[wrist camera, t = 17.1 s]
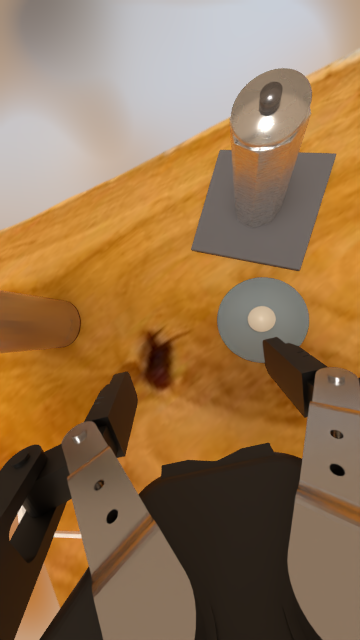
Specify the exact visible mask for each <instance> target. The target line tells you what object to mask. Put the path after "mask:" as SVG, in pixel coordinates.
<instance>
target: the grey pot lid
mask: <svg viewBox="0 0 360 640" xmlns="http://www.w3.org/2000/svg"><path fill="white" fill-rule="evenodd" d="M217 323H218V329H219V333H220V335H221V338H222V340H223V341H224V343H225V344H226V345H227V347H228V348H229V349H230V350H231V351H232V352H234V353H235V354H236V355H238V356H240V357H242V358H244V359H246V360H249V361H253V362H259V363H265V360H264V352H263V340H265V339H269V338H274V337H278V338H279V339H281V340H282V341H283V342H284V343H291V344H294V345H297V346H300V345H301V344H302V342H303V340H304V339H305V336H306V334H307V331H308V327H309V314H308V309H307V307H306V304H305V302H304V300H303V298H302V297H301V296H300V294H299V293H298V292H297V291H296V290H295V289H294V288H292V287H291V286H290V285H288V284H286V283H285V282H282V281H280V280H277V279H273V278H262V277H261V278H253V279H249V280H246V281H244V282H242V283H240V284H238V285H236V286H235V287H234V288H232V289H231V290H230V291H229V292H228V293H227V294H226V296H225V297H224V299H223V300H222V302H221V304H220V307H219V311H218V317H217Z"/></svg>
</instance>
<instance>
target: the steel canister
mask: <svg viewBox="0 0 360 640" xmlns="http://www.w3.org/2000/svg"><path fill="white" fill-rule="evenodd" d="M311 99H312V90H311V86H310V83H309V81H308V79H307V78H306V77H305V76H304V75H303V74H302V73H300V72H298V71H296V70H292V69H284V68H283V69H274V70H271V71H268V72H265V73H263V74H261V75H259V76H257V77H256V78H254V79H253V80H252V81H250V82H249V83H248V84H247V85H246V86H245V87H244V88H243V89H242V90H241V92H240V93H239V95H238V96H237V98H236V100H235V102H234V104H233V108H232V112H231V117H230V132H231V148H232V165H233V182H234V198H235V208H236V214H237V220H238V221H239V222H241V223H243V224H245V225H247V226H249V227H250V228H255V227H258V226H262V225H266V224H269V223H271V221H272V220H273V218H274V217H275V216H276V214H277V213H278V211H279V210H280V209H281V206H282V203H283V200H284V197H285V194H286V191H287V188H288V184H289V181H290V178H291V175H292V172H293V169H294V166H295V162H296V159H297V156H298V153H299V150H300V147H301V143H302V140H303V137H304V134H305V131H306V128H307V125H308V121H309V118H310V115H311V110H310V104H311Z"/></svg>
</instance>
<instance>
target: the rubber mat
mask: <svg viewBox="0 0 360 640" xmlns="http://www.w3.org/2000/svg"><path fill="white" fill-rule="evenodd" d="M335 157H336V154H329V153H298V156H297V159H296V162H295V166H294V169H293V172H292V175H291V178H290V181H289V184H288V188H287V191H286V194H285V197H284V200H283V203H282V206H281V209H280V210H279V211H278V213H277V214H276V216H275V217H274V218H273V220H272V221H271V223H269V224H266V225H262V226H258V227H255V228H250V227H249V226H247V225H245V224H243V223H241V222H239V221H238V220H237V214H236V208H235V198H234V182H233V165H232V150H220V152H219V155H218V158H217V162H216V165H215V169H214V172H213V176H212V179H211V183H210V186H209V190H208V193H207V196H206V200H205V203H204V207H203V210H202V214H201V217H200V221H199V224H198V227H197V231H196V234H195V238H194V241H193V245H192V248H191V250H192V251H197V252H202V253H207V254H212V255H218V256H223V257H228V258H233V259H238V260H244V261H249V262H254V263H259V264H265V265H270V266H275V267H280V268H286V269H291V270H296V271H299V270H300V268H301V265H302V262H303V259H304V255H305V252H306V249H307V246H308V243H309V240H310V236H311V233H312V230H313V227H314V224H315V220H316V217H317V214H318V211H319V208H320V204H321V201H322V198H323V195H324V192H325V188H326V185H327V182H328V179H329V176H330V173H331V169H332V166H333V163H334V160H335Z"/></svg>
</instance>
